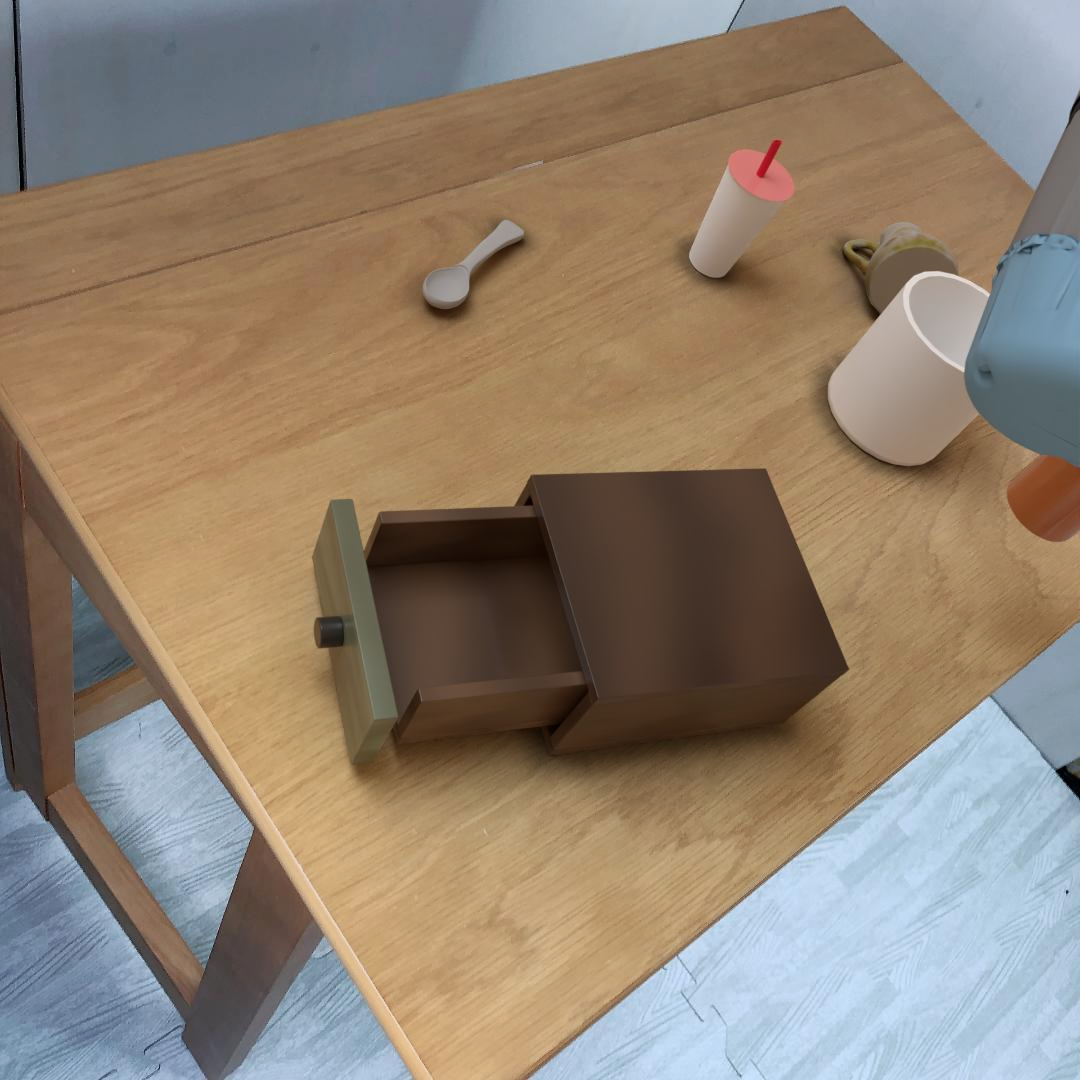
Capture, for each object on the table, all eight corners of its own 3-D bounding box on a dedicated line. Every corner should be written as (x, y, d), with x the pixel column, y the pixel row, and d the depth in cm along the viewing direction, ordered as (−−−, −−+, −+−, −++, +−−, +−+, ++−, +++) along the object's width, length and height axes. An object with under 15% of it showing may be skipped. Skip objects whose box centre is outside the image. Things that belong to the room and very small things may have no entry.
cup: (664, 245, 91) (734, 121, 81) (710, 231, 94) (782, 110, 84) (706, 294, 89) (782, 173, 80) (751, 278, 92) (830, 160, 83)
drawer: (327, 769, 58) (349, 723, 54) (290, 557, 64) (307, 499, 59) (604, 732, 64) (645, 688, 60) (548, 543, 70) (581, 490, 66)
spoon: (408, 299, 78) (417, 277, 77) (494, 228, 86) (503, 207, 85) (444, 324, 78) (453, 303, 77) (526, 250, 86) (535, 230, 85)
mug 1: (921, 261, 102) (1004, 230, 92) (873, 351, 100) (953, 329, 90) (860, 209, 99) (938, 172, 90) (810, 300, 97) (885, 272, 88)
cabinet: (548, 756, 64) (598, 698, 58) (491, 545, 70) (530, 474, 64) (782, 724, 70) (849, 669, 64) (711, 533, 76) (765, 467, 70)
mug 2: (897, 488, 84) (985, 401, 76) (801, 392, 87) (877, 298, 79) (977, 422, 92) (1065, 336, 84) (887, 335, 94) (964, 244, 86)
